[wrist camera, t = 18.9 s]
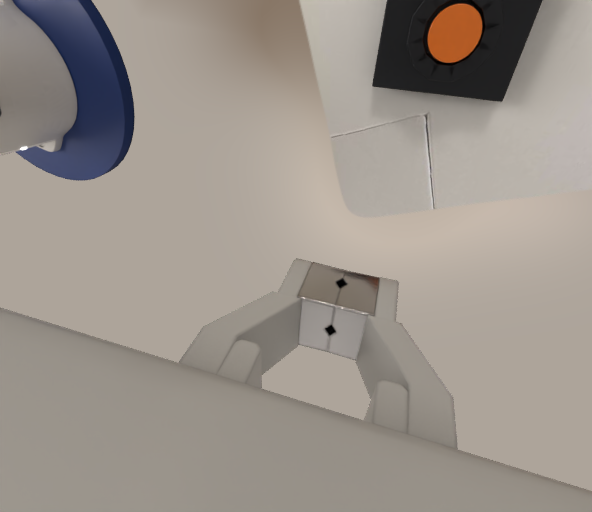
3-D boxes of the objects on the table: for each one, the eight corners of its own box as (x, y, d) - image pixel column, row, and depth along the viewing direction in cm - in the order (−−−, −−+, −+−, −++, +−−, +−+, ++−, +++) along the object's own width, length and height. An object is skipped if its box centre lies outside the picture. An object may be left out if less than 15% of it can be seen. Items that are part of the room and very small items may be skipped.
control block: (374, 82, 32) (369, 90, 29) (397, -43, 27) (393, -50, 24) (498, 96, 30) (506, 106, 27) (549, -37, 25) (567, -44, 21)
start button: (422, 58, 27) (421, 60, 26) (435, 2, 25) (436, 1, 24) (469, 62, 26) (471, 65, 25) (487, 5, 24) (491, 5, 23)
